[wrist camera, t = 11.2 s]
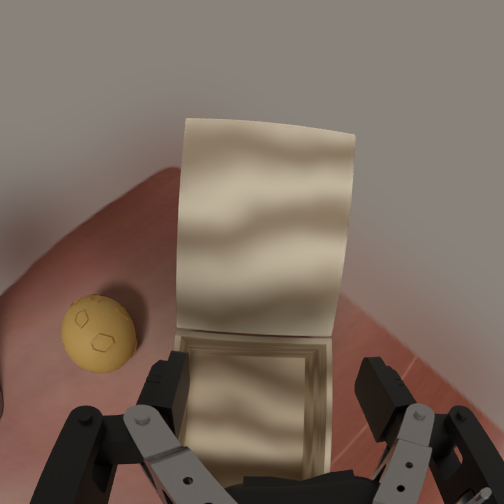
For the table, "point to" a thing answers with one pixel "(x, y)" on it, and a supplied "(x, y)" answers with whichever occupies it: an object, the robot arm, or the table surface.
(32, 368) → the table surface
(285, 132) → the lid flap
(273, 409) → the carton
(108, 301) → the stress ball
